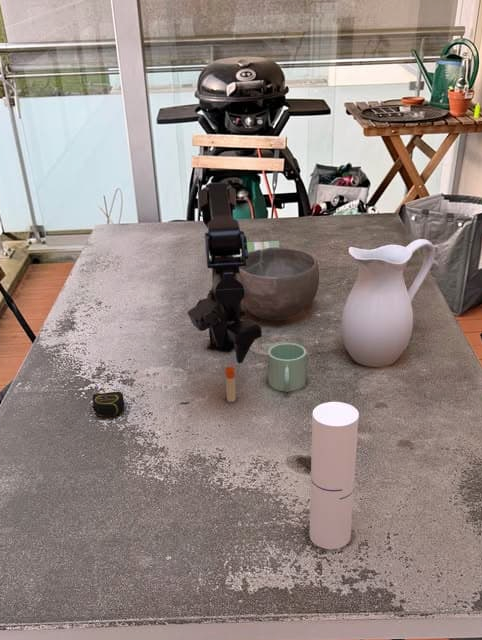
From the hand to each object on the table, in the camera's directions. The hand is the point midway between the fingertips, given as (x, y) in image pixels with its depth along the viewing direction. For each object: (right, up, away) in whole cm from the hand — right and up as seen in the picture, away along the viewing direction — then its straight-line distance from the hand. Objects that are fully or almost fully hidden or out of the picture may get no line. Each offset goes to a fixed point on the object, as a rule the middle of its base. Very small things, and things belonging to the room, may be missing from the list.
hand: (229, 354), depth 160 cm
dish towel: (+3, +44, +83) cm, 94 cm away
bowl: (+12, +18, +45) cm, 50 cm away
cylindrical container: (+18, -36, -32) cm, 52 cm away
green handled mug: (+13, -6, +11) cm, 18 cm away
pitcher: (+38, +3, +23) cm, 45 cm away
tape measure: (-27, -12, +4) cm, 30 cm away
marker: (0, -9, +6) cm, 11 cm away
